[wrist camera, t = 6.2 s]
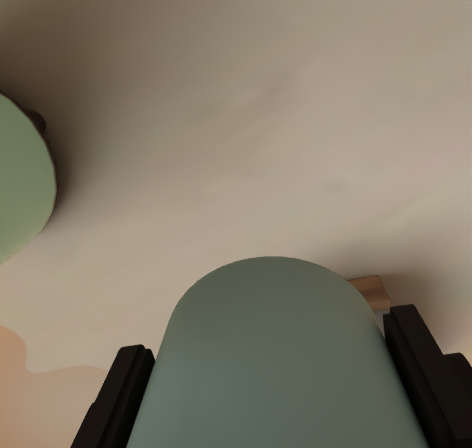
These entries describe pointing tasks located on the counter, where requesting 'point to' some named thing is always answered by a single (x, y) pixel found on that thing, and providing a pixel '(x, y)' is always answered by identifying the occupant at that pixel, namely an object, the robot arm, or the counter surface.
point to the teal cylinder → (275, 366)
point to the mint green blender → (24, 177)
